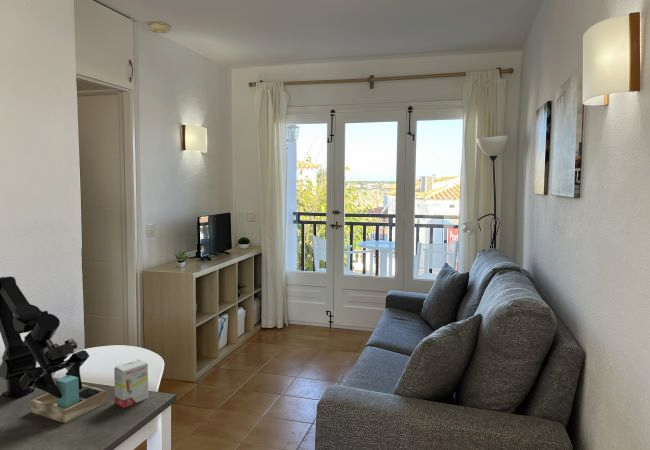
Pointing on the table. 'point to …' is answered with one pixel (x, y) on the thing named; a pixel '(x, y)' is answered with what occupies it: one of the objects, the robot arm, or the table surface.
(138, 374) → the ink box
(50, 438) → the table surface
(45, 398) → the walled box
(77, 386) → the plug
